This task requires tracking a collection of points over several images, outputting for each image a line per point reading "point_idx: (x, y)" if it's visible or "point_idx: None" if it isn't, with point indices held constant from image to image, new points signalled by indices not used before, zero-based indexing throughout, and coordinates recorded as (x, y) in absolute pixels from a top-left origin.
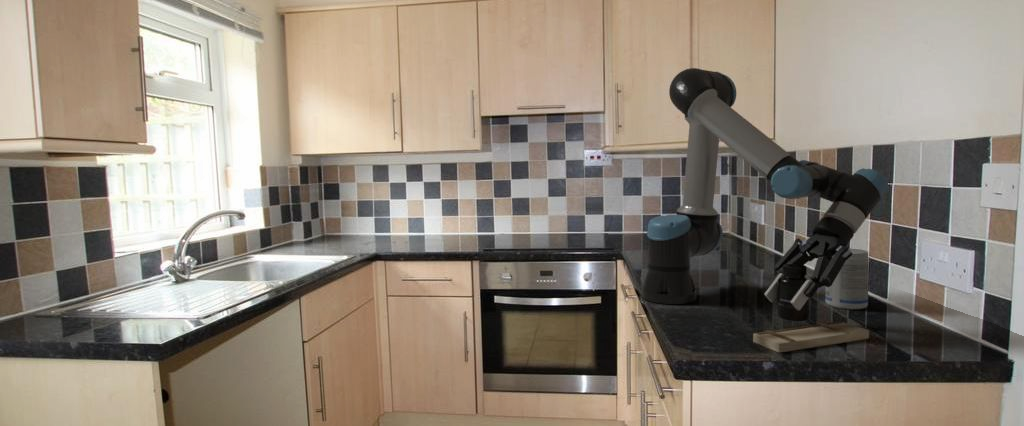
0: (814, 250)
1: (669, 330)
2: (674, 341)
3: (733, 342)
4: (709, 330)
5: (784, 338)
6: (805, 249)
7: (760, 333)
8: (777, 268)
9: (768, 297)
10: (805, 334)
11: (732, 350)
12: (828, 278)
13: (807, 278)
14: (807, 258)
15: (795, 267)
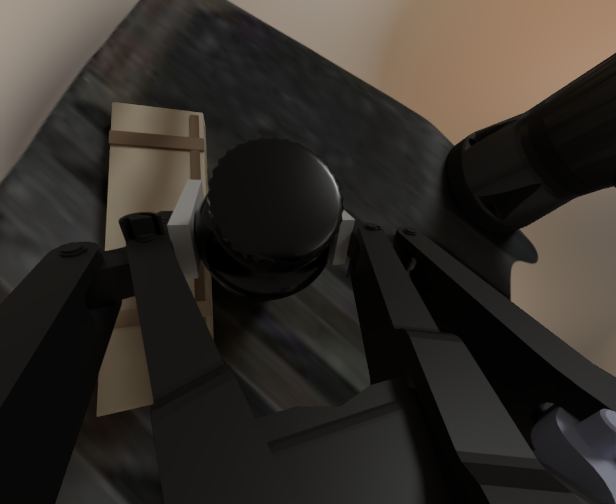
0: (358, 436)
1: (311, 58)
2: (255, 24)
3: (216, 95)
4: (294, 111)
5: (132, 132)
6: (430, 363)
7: (190, 118)
8: (397, 233)
9: None
10: (146, 206)
11: (174, 61)
12: (104, 323)
13: (233, 268)
14: (379, 375)
15: (240, 166)
